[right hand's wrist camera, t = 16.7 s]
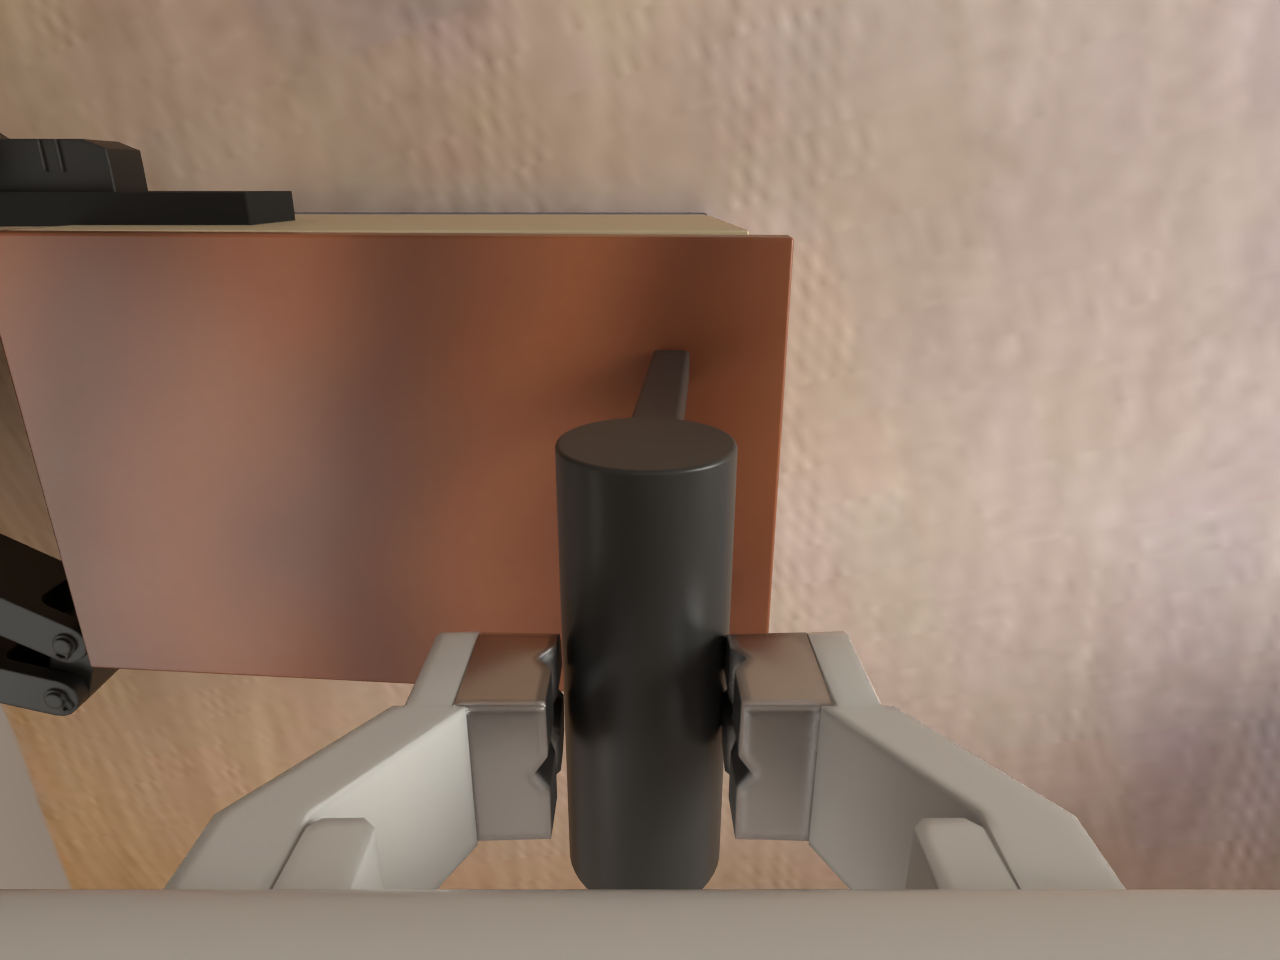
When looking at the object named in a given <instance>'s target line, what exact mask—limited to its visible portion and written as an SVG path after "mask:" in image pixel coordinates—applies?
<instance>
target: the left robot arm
mask: <svg viewBox="0 0 1280 960" xmlns="http://www.w3.org/2000/svg"><path fill="white" fill-rule="evenodd" d="M294 220H295V214H294V207H293V200H292V193H291V191H148V188H147V183H146V178H145V173H144V168H143V163H142V158H141V153H140V151H139V150H137V149H134V148H132V147H129V146H127V145H124V144H122V143H119V142H112V141H100V140H87V139H10V138H7V137H6V136H4V135H2V134H1V133H0V226H68V225H258V224H267V223H276V222H285V221H294ZM117 670H118V668H99V667H91V665H90V662H89V658H88V654H87V651H86V647H85V643H84V640H83V636H82V632H81V629H80V625H79V622H78V618H77V614H76V611H75V607H74V603H73V600H72V596H71V592H70V589H69V585H68V582H67V578H66V574H65V571H64V567H63V563H62V561H60V560H58V559H56V558H53V557H51V556H49V555H47V554H45V553H42V552H40V551H38V550H36V549H33V548H31V547H29V546H27V545H25V544H22V543H20V542H18V541H16V540H14V539H11V538H9V537H7V536H5V535H2V534H0V703H3V704H7V705H12V706H16V707H21V708H25V709H30V710H34V711H39V712H43V713H48V714H52V715H59V716H65V715H69V714H72V713H73V712H74V711H75V710H76V709H77V708H78V707H79V706H80V705H82V704H83V703H84V702H85V701H86V700H87V699H88V698H89V697H90V696H91V695H92V694H93V693H94V692H95V691H96V690H97V689H99V688H100V687H101V686H102V685H103V684H104V683H105V682H106V681H107V680H108V679H109V678H110V677H111V676H112V675H113V674H114V673H115V672H116V671H117Z"/></svg>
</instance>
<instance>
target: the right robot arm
mask: <svg viewBox="0 0 1280 960" xmlns="http://www.w3.org/2000/svg"><path fill="white" fill-rule="evenodd" d="M561 671H562V649H561V639H560V634H551V633H499V632H482V633H480V632H479V631H478V632H442V633H440V634H438V635H437V636H436V638H435V641H434V643H433V645H432V647H431V649H430V651H429V654H428V656H427V658H426V660H425V662H424V665H423V667H422V669H421V671H420V673H419V675H418V678H417V680H416V682H415V684H414V686H413V689H412V691H411V693H410V695H409V697H408V699H407V702H406V704H405V706H392V707H390V708H389V709H387V710H385V711H384V712H382V713H381V714H379V715H377V716H376V717H374V718H372V719H371V720H369V721H367V722H366V723H364V724H362V725H361V726H359V727H358V728H356V729H354V730H353V731H351V732H349V733H348V734H346V735H344V736H343V737H341V738H339V739H338V740H336V741H335V742H333V743H331V744H330V745H328V746H326V747H325V748H323V749H321V750H320V751H318V752H316V753H315V754H313V755H311V756H310V757H308V758H307V759H305V760H303V761H302V762H300V763H298V764H297V765H295V766H293V767H292V768H290V769H288V770H287V771H285V772H284V773H282V774H280V775H279V776H277V777H275V778H274V779H272V780H270V781H269V782H267V783H265V784H264V785H262V786H261V787H259V788H257V789H256V790H254V791H252V792H251V793H249V794H247V795H246V796H244V797H242V798H241V799H239V800H238V801H236V802H234V803H233V804H231V805H229V806H228V807H226V808H224V809H223V810H221V811H219V812H218V813H216V814H215V815H214V816H213V818H212V819H211V820H210V822H209V823H208V825H207V826H206V828H205V829H204V831H203V832H202V834H201V835H200V837H199V838H198V839H197V841H196V842H195V844H194V845H193V847H192V848H191V850H190V851H189V853H188V854H187V856H186V857H185V858H184V860H183V861H182V863H181V864H180V866H179V867H178V869H177V870H176V872H175V873H174V875H173V876H172V877H171V879H170V880H169V882H168V883H167V885H166V886H165V888H164V889H0V960H1280V889H1125V887H1124V886H1123V884H1122V883H1121V881H1120V880H1119V878H1118V877H1117V876H1116V874H1115V873H1114V871H1113V870H1112V868H1111V867H1110V865H1109V864H1108V863H1107V861H1106V860H1105V858H1104V857H1103V855H1102V854H1101V852H1100V851H1099V849H1098V848H1097V847H1096V845H1095V844H1094V842H1093V841H1092V839H1091V838H1090V836H1089V835H1088V834H1087V832H1086V831H1085V829H1084V828H1083V826H1082V825H1081V823H1080V822H1079V821H1078V819H1077V818H1076V816H1075V815H1073V814H1072V813H1070V812H1068V811H1067V810H1065V809H1063V808H1062V807H1060V806H1058V805H1057V804H1055V803H1053V802H1052V801H1050V800H1048V799H1047V798H1045V797H1043V796H1042V795H1040V794H1038V793H1037V792H1035V791H1034V790H1032V789H1030V788H1029V787H1027V786H1025V785H1024V784H1022V783H1020V782H1019V781H1017V780H1015V779H1014V778H1012V777H1010V776H1009V775H1007V774H1005V773H1004V772H1002V771H1000V770H999V769H997V768H996V767H994V766H992V765H991V764H989V763H987V762H986V761H984V760H982V759H981V758H979V757H977V756H976V755H974V754H972V753H971V752H969V751H967V750H966V749H964V748H962V747H961V746H959V745H958V744H956V743H954V742H953V741H951V740H949V739H948V738H946V737H944V736H943V735H941V734H939V733H938V732H936V731H934V730H933V729H931V728H929V727H928V726H926V725H924V724H923V723H921V722H920V721H918V720H916V719H915V718H913V717H911V716H910V715H908V714H906V713H905V712H903V711H901V710H900V709H898V708H896V707H895V706H882V705H881V702H880V700H879V698H878V696H877V694H876V692H875V690H874V688H873V686H872V684H871V682H870V679H869V677H868V675H867V673H866V671H865V669H864V667H863V665H862V663H861V661H860V658H859V656H858V654H857V652H856V650H855V648H854V646H853V644H852V642H851V640H850V638H849V635H848V634H846V633H845V632H843V631H836V632H812V633H765V634H728V635H725V650H724V674H725V680H726V686H727V689H726V690H725V692H724V695H723V698H722V723H721V732H722V750H723V759H724V767H725V771H726V772H727V773H728V774H729V775H730V779H729V801H730V808H731V814H732V820H733V827H734V833H735V839H762V840H798V841H809V845H810V846H811V847H812V848H813V849H814V850H815V852H816V853H817V854H818V855H819V856H820V857H821V858H822V859H823V860H824V861H825V862H826V864H827V865H828V866H829V867H830V868H831V869H832V870H833V871H834V872H835V873H836V874H837V875H838V877H839V878H840V879H841V880H842V881H843V882H844V883H845V884H846V885H847V886H848V887H849V889H438V888H439V886H440V885H441V884H442V883H443V882H444V881H445V880H446V879H447V878H448V877H449V875H450V874H451V873H452V872H453V871H454V870H455V869H456V868H457V867H458V866H459V865H460V863H461V862H462V861H463V860H464V859H465V858H466V857H467V856H468V855H469V854H470V853H471V851H472V850H473V849H474V848H475V847H476V846H477V841H488V840H523V839H551V835H552V828H553V821H554V814H555V807H556V800H557V782H556V774H557V773H558V772H560V771H561V763H562V755H563V739H564V695H563V694H562V692H561V691H560V690H559V684H560V677H561Z"/></svg>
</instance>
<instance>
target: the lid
mask: <svg viewBox="0 0 1280 960" xmlns="http://www.w3.org/2000/svg"><path fill="white" fill-rule="evenodd" d="M793 245H794V240H793V238H792V237H790V236H788V235H692V234H527V233H362V232H197V231H32V230H2V231H0V338H1V341H2V345H3V349H4V352H5V356H6V360H7V363H8V367H9V371H10V374H11V378H12V381H13V385H14V389H15V392H16V396H17V400H18V403H19V407H20V411H21V414H22V418H23V421H24V425H25V429H26V432H27V436H28V440H29V443H30V447H31V451H32V454H33V458H34V462H35V465H36V469H37V472H38V476H39V480H40V483H41V487H42V491H43V494H44V498H45V502H46V505H47V509H48V512H49V516H50V520H51V523H52V527H53V531H54V534H55V538H56V542H57V545H58V549H59V552H60V556H61V560H62V563H63V567H64V571H65V574H66V578H67V582H68V585H69V589H70V592H71V596H72V600H73V603H74V607H75V611H76V614H77V618H78V622H79V625H80V629H81V632H82V636H83V640H84V643H85V647H86V651H87V654H88V658H89V662H90V665H91V667H99V668H118V669H138V670H157V671H177V672H196V673H216V674H235V675H255V676H274V677H294V678H313V679H333V680H352V681H371V682H391V683H410V684H415V682H416V680H417V678H418V675H419V673H420V671H421V669H422V667H423V665H424V662H425V660H426V658H427V656H428V654H429V651H430V649H431V647H432V645H433V643H434V641H435V638H436V636H437V635H438V634H440V633H442V632H478V631H479V632H480V633H482V632H499V633H551V634H560V639H561V649H562V671H561V677H560V684H559V690H560V691H564V706H565V733H566V760H567V787H568V813H569V840H570V858H571V863H572V866H573V868H574V871H575V873H576V874H577V876H578V878H579V879H580V881H581V882H582V883H583V884H584V886H585V887H586V888H587V889H702V888H703V887H704V886H705V885H706V884H707V883H708V882H709V880H710V878H711V877H712V875H713V874H714V872H715V869H716V867H717V864H718V860H719V849H720V827H721V805H722V783H723V761H724V759H723V750H722V732H721V723H722V698H723V695H724V692H725V690H726V689H727V686H726V680H725V674H724V650H725V635H728V634H765V633H768V631H769V616H770V600H771V585H772V569H773V554H774V538H775V523H776V507H777V492H778V476H779V461H780V446H781V430H782V415H783V399H784V384H785V368H786V353H787V337H788V322H789V306H790V291H791V276H792V260H793Z"/></svg>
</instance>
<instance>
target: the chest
mask: <svg viewBox="0 0 1280 960" xmlns="http://www.w3.org/2000/svg"><path fill="white" fill-rule="evenodd" d="M294 214H295V220H294V221H285V222H276V223H267V224H258V225H68V226H54V227H41V228H27V229H14V230H32V231H197V232H362V233H527V234H692V235H749V232H748V231H747V230H745V229H742V228H740V227H737V226H734V225H732V224H729V223H726V222H724V221H721V220H719V219H716V218H713V217H711V216H708V215H707V214H705V213H294Z"/></svg>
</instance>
